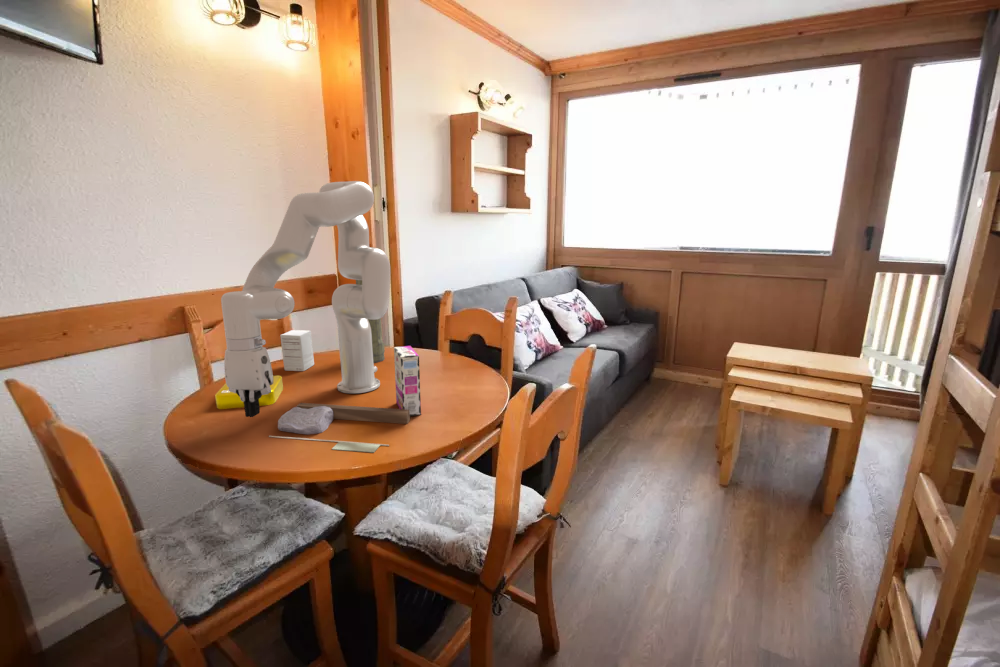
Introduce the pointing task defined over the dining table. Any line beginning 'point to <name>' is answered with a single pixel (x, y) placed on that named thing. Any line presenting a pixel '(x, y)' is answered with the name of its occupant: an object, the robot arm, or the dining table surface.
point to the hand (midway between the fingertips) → (252, 414)
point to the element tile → (232, 400)
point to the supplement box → (297, 350)
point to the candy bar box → (407, 379)
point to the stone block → (306, 420)
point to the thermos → (376, 337)
